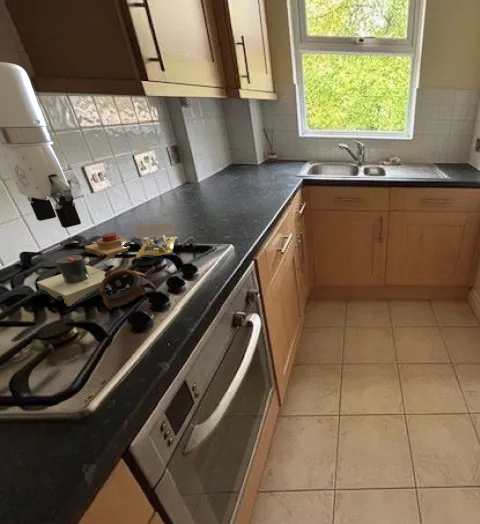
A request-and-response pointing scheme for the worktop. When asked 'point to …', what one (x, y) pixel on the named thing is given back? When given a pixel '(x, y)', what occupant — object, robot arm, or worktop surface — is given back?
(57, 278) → the panel
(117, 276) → the pottery mug
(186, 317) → the worktop surface
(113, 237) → the button
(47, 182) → the robot arm
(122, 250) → the button block
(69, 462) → the worktop surface
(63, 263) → the dial
